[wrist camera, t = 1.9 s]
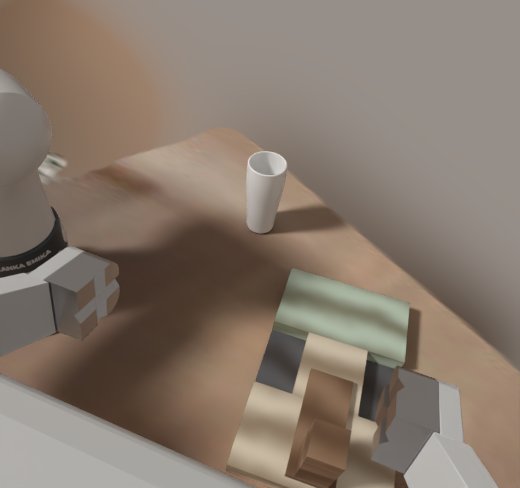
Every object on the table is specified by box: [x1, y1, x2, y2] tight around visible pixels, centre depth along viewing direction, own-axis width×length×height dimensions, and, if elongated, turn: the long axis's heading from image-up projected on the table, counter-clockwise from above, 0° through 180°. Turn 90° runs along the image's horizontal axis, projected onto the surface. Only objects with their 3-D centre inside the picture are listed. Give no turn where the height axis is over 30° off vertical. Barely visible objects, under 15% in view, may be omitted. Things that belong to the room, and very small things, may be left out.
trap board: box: [226, 268, 410, 488], centre depth 61 cm, size 32×20×3 cm, turn 163°
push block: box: [285, 368, 353, 488], centre depth 51 cm, size 14×6×10 cm, turn 163°
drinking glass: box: [246, 151, 287, 234], centre depth 76 cm, size 7×7×15 cm
